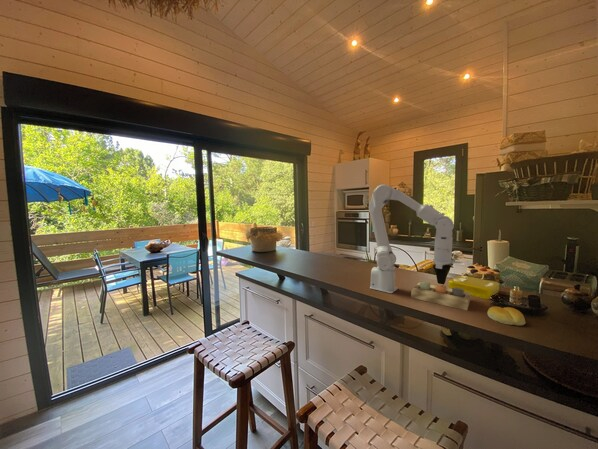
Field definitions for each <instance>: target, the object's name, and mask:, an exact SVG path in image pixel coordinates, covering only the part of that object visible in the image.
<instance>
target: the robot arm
mask: <svg viewBox="0 0 598 449" xmlns="http://www.w3.org/2000/svg"><path fill="white" fill-rule="evenodd" d="M371 193H372V194H371V199H370V200H369V204H368V210H369V215H370V221H371V226H372V228H373V233H374V237H375V243H376V246H377V247H376V248H377V250H376V255H377V259H376V265H377V266H373V267H372V268H371V271H370V286H369V289H371V290H374V291H375V290H376V291H380V292H384V293H388V294H393V293H395V291H397V290H398V289H399V287H397V286H395V285H396V267H395V263H396V262H397V256H396V255H395V253H394V252H393V249H392V247H391V244H390V242H389V241H390V240H389V236H388V232H387V227H386V223H385V220H384V216H383V215H384V214H383V211H382V209H383V208H384V206H385V205H386V203H388V202H389V201H390V200H391V201H392V200H393V201H399V202H400V203H402V204H403V205H405V206H407V207H409V208H410V209H411V210H412V211H415V212H416V216H417V217H418V218H420V219H421V220H423V221H424V222H426V223H427V224H429V225H430V226H434V228H435V229H436V230H435V235H434V249H433V250H434V251H433V259H432V262H434V264H433V265H432V268H433V271H434V272H435V276H436V281H437V285H444V286H445V284H446V281H447V277H448V274H449V271H450V270H451V268H452V264H453V265H454V264H456V261H455V260H452V257H453V256H452V253H453V229H454V228H455V224H454V222H453V220H452V219H451V218H450V217H449V216H447V215H446V214H445V213H444V212H440V211H439V210H437V209H436V208H434V205H432V204H430V205H429V204H428V203H426V204H421V203H419V202H418V201H416V200H415V199H414V198H412V197H410V196H409V195H408V194H406V193H404V192H403V191H402V190H399V189H397V188H395V187H392V186H390V185H387V184H384V183H383V184H378V185H377V186H376V188H375V189H374V190H373V191H372V192H371Z"/></svg>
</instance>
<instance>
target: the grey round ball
mask: <svg viewBox="0 0 598 449" xmlns="http://www.w3.org/2000/svg"><path fill="white" fill-rule="evenodd" d="M452 295H453V296H458V297H464V290H463V289H460V288H452Z"/></svg>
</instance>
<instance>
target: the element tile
mask: <svg viewBox="0 0 598 449" xmlns="http://www.w3.org/2000/svg"><path fill="white" fill-rule="evenodd" d="M447 288H450V289H452V288H460V289H463V290H464V291H466V292H471V295H470V297H471V296H472V297H476V298H479V297H480V298H481V299H484V300H491V299H490V297H491V296H492V295H494V294H496V293H498V292H499V288H500V283H499V282H498V281H493V280H488V279H483V278H477V277H472V276H467V275H459V274H458V275H457V276H455V277H453V278H451V279H449V280H448V287H447ZM498 294H499V293H498ZM496 295H497V294H496Z"/></svg>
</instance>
